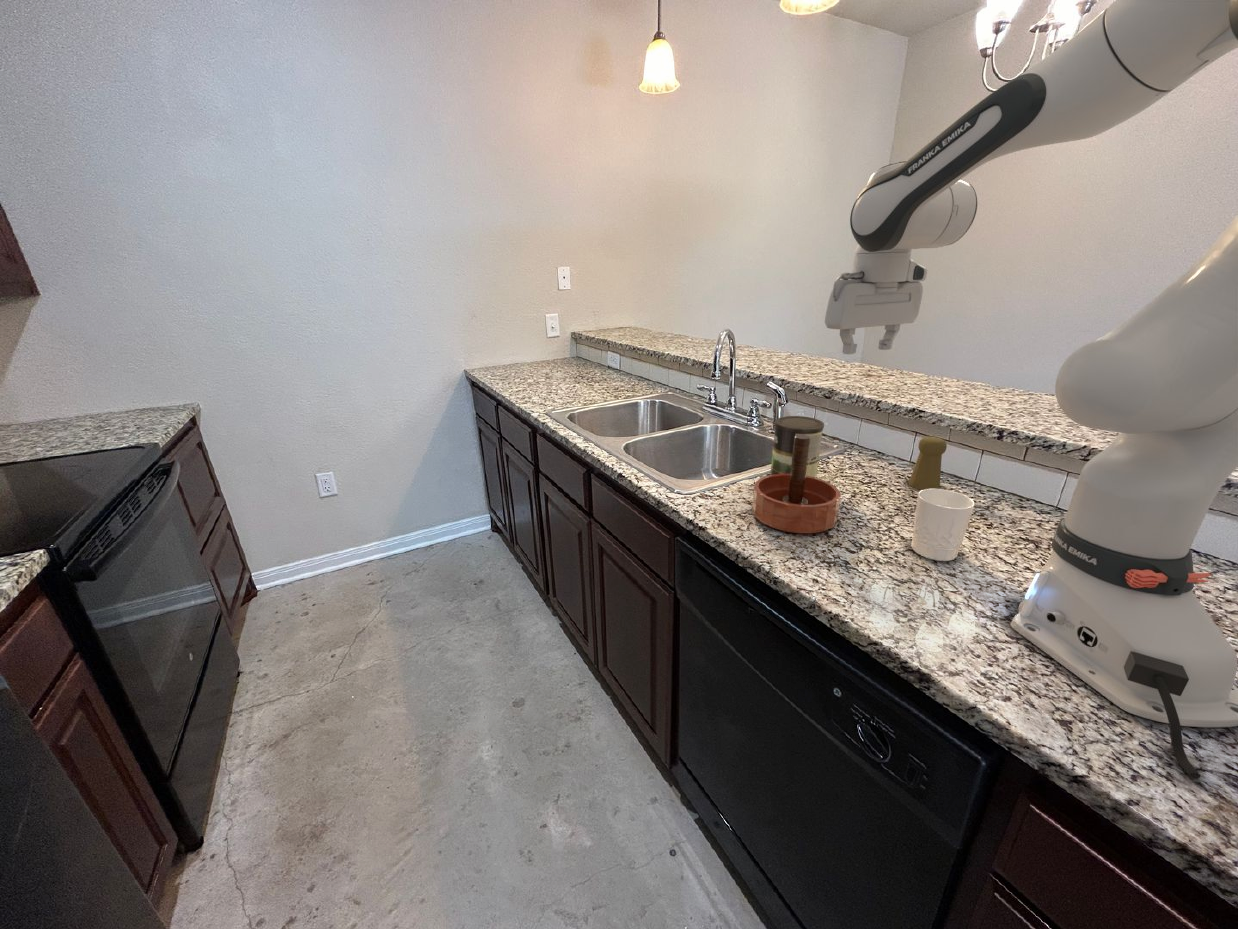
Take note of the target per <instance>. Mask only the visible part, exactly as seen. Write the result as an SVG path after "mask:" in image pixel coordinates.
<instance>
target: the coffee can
mask: <svg viewBox="0 0 1238 929" xmlns="http://www.w3.org/2000/svg"><path fill="white" fill-rule="evenodd" d="M824 428H825V423H824V422H823V421H822V420H820V419H817V418H814V417H811V416H810V417H809V416H801V415H786V416H785V415H784V416H781V417H778V418H776V419H775V420H774V430H773V431H774V432H773V443H772V452H771V453H772V454H771V465H770V473H769V475H775V474H790V473H791V464H792V455H793V446H794V437H795V435H799V434H802V435H808V436H810V446H809V454H808V462H807V470H806V476H811V477H815V478H817V475H818V469H819V468H818V467H819V460H820V455H821V454H820V453H821V446H822V438H823V430H824Z"/></svg>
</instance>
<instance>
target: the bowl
mask: <svg viewBox="0 0 1238 929" xmlns="http://www.w3.org/2000/svg"><path fill="white" fill-rule="evenodd" d="M789 482H790V474H775V475H770V474H769V475H766V476H762V477H760V478H759V479H757V480H756V481H755V484H754V487H753V496H752V498H753V499H752V513H753V515H754V517H755V518H756V519H757V520H758V521H759V522H761V523H762V524H764V525H766V526H768V527H770V528H772V529H775V530H780V531H783V532H786V533H787V532H788V533H793V534H817V533H821V532H826V531H828V530H830V529H832V528H833V527H834V526H835V525H836V524H837V521H838V515H839V509H840V502H841V490H839V489H838V488H837V486H835V485H834V484H832V483H830V482H828V481H827V480H823V479H821V478H818V477H816V478H815V477H811V476H806V478H805V487H804V495H803V497H804V498H806V499H807V500H808V505H798V504H790V503H786V502H782V498H783V497H784V496H787V495H788V491H789Z"/></svg>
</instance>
